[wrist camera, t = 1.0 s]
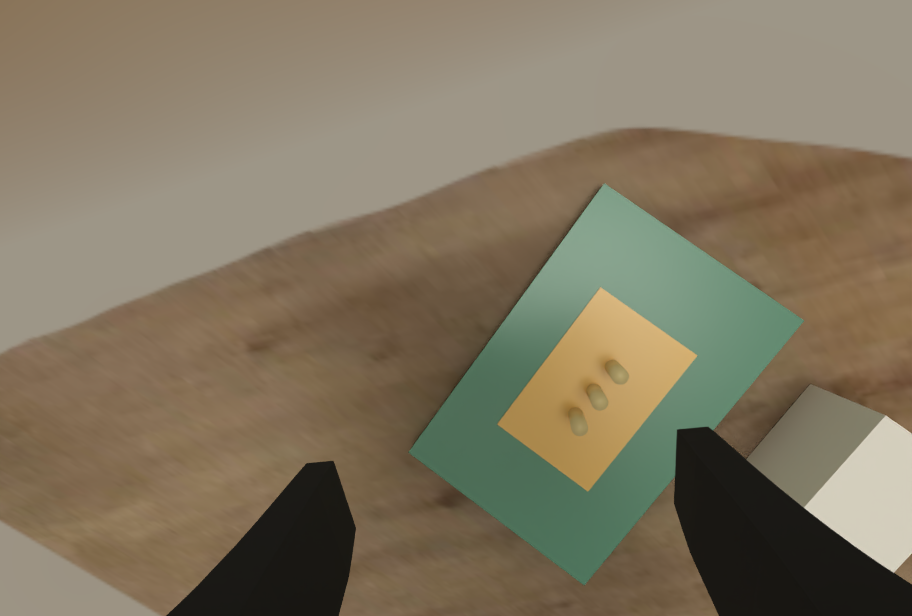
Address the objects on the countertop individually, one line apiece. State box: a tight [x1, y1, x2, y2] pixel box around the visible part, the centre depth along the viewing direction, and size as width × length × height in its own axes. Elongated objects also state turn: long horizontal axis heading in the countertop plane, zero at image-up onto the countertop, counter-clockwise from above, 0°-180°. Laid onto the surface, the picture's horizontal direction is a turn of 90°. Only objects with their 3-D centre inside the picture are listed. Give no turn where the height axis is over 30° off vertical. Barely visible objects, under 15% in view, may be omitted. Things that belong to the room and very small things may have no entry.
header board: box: [408, 183, 804, 585], centre depth 27 cm, size 12×18×4 cm, turn 145°
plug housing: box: [746, 384, 912, 573], centre depth 25 cm, size 4×8×6 cm, turn 144°
